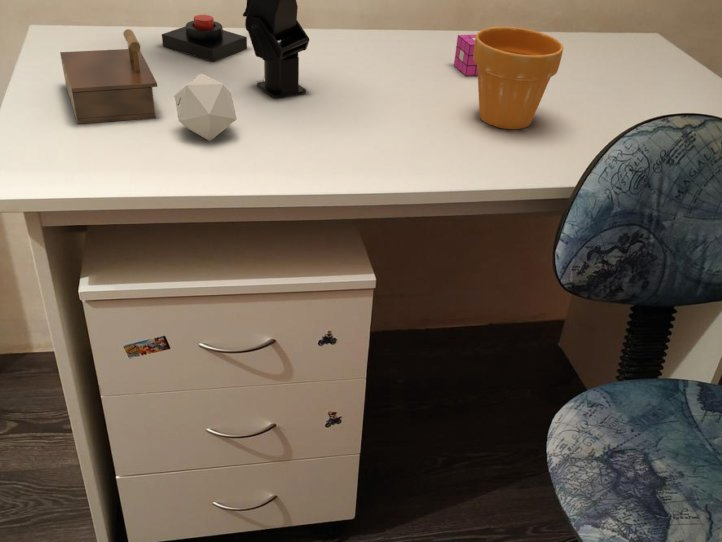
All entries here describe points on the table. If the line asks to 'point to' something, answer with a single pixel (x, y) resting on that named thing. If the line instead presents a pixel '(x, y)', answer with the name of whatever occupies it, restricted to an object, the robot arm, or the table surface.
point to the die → (205, 107)
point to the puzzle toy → (465, 55)
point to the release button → (203, 22)
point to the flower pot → (513, 73)
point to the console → (204, 41)
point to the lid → (108, 68)
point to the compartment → (111, 104)
